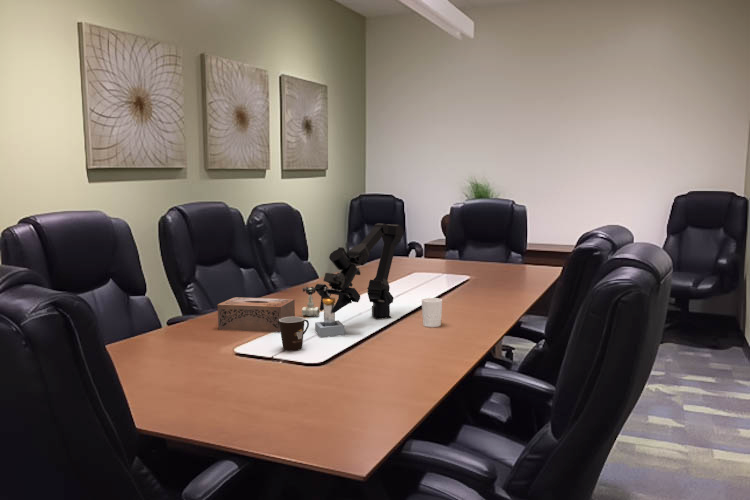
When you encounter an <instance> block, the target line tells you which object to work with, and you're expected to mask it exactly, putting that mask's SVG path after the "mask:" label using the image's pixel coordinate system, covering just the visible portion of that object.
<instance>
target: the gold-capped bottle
mask: <svg viewBox="0 0 750 500" xmlns="http://www.w3.org/2000/svg"><path fill="white" fill-rule="evenodd" d="M323 304H324V309H323V322H324V327H325V326H335V321H336V314H335V313H336V312H335V313H333V312H332V310H333V308H334V306H335V304H336V297H330V298H323Z"/></svg>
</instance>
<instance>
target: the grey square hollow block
mask: <svg viewBox="0 0 750 500" xmlns="http://www.w3.org/2000/svg"><path fill="white" fill-rule="evenodd" d="M314 326H315V327H314V328H315V329H314V331H316V332H317V333H316V332H315V333H316V334H317V335H318V336H319V337H320V338H328V336H330V337H337V336H336V335H341V336H345V335H346V329H345V324H343V323H342V322H341V321H340V320H338V319H337V320H335V326H325V327H324V321H317V322H316V321H315V322H314Z"/></svg>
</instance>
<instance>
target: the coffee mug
mask: <svg viewBox="0 0 750 500" xmlns="http://www.w3.org/2000/svg"><path fill="white" fill-rule="evenodd" d="M305 322H306V326H305ZM279 325H280V331H281V332H280V336H281V343H282V344H281V345H282V350H283V351H285V352H296V351H297V352H298V351H300V350H302V349H303V343H304V335H305V333H306V332H307V330H308V329H309V327H310V323H309V321H308V319H305V317H304V316H303V317H301V316H295V317H285V318H281V319H279Z"/></svg>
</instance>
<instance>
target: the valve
mask: <svg viewBox="0 0 750 500" xmlns="http://www.w3.org/2000/svg"><path fill="white" fill-rule="evenodd" d="M314 288H315V286H310V287H309V286H306V287H302V292H303V293H304V292H305V294H306V295H308V297H307V298H308V299H307V300H308V302H307V303H306V306H303V307H302V309H301V315H302V316H303V317H319V316H320V307H318V306H316V307H315V302H313V298H314V297H313V296H312V295H313V294H315V293H316V292H317V291H316V290H315V289H314Z"/></svg>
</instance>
